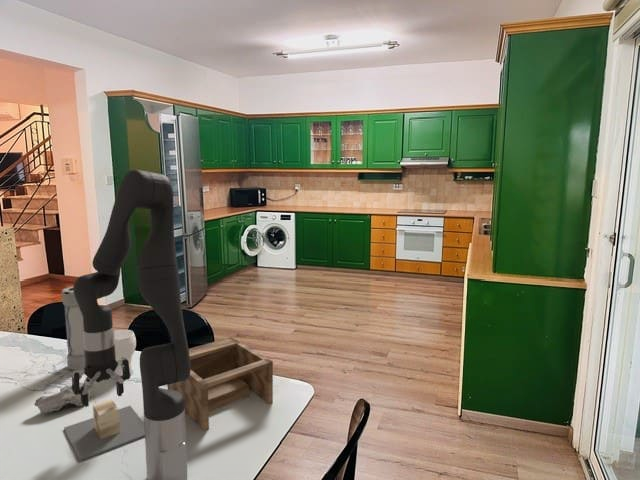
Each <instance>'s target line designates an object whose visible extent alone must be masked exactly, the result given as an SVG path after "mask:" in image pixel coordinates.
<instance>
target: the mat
mask: <svg viewBox="0 0 640 480" xmlns="http://www.w3.org/2000/svg"><path fill="white" fill-rule="evenodd" d="M119 418H120V432H119V433H117V434H114V435H111V436H108V437H106V438H103V439H101V438H100V437H99V435H98V433H97V431H96V430H95V428H94V417H92V418H91V417H90V418H89V419H85V420H83V421H79V422H77V423H74V424H71V425H67V426H65V427H64V428H63V430H64V432H65V434H66V436H67V438H68V440H69V442H70V445H71V446H72V448H73V451H74V453H75V455H76V457H77V459H78V461H79V463H80V462H83V461H86V460H88V459H91V458H93V457H96V456H99V455H102V454H104V453H107V452H109V451H112V450H115V449H117V448H120V447H122V446H125V445H127V444H129V443H132V442H135V441H137V440H140V439H143V438H145V427H144V420H142V419H141V417H140V416H139V414H137V412H136V411H135V410H134V408H133V407H132V406H131V405H128V406H127V405H126V406H124V407H120V408H119Z"/></svg>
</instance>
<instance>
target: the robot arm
mask: <svg viewBox="0 0 640 480" xmlns="http://www.w3.org/2000/svg"><path fill="white" fill-rule="evenodd" d="M173 190H174V189H173V185H172V182H171V180H170V178H169V177H168V176H167V175H164V174H162V173H158V172H157V173H156V172H151V171H147V170H146V171H145V170H142V169H141V170H140V169H131V170H128V172H126V173H125V175H123V178H122V179H121V182H120V183H119V187H118V190H117V192H116V197H115V200H114V203H113V207H112V211H111V213H110V216H109V221H108V223H107V228H106V231H105V234H104V236H103V238H102V240H101V243H100V244H99V247H98V249H97V251H96V252H95V254H94V257H93V258H92V267H93V268H94V271H96V272H92V273H88V274H84V275H80V276H78V277H77V278H76V280H75V281H74V284H73V286H74V287H73V292H74V296H75V298H76V301H77V303H78V306H79V308H80V311H81V313H82V316H83V327H84V337H83V342H84V343H83V346H84V356H85V368H84V370H80V371H77V370H71V371H72V372H71V385H72V391H73V392H74V394H75V395H77V394H80V395H81V403H82V404H83V405H82V406H84V407H85V408H88V407H89V405H90V404H89V402H90V401H89V402H88V393H87V392H88V390H89V389H90V390H91V388H92V387H93V386H94V384H95V383H100V382H102V381H107V380H110V378H112V377H113V378H112V379H115V381H116V382H115V384H116V395H117V396H118V397H122V396H123V394H124V391H125V390H124V389H125V387H124V382H125V381H127V380H130V379H131V375H130V370H129V362H128V360H127V359H126V358H125V357H123V358H122V359H121V360H118V361H116V353H115V337H114V331H115V330H114V327H113V326H114V325H113V324H114V323H113V312H112V309H111V307H110V306H109V305H108V306H107V305H100V304H99V303H98V299H102V298H105V297H108V296H111V295H113V293H114V292H115V291H116V290H117V288H118V287H119V282H120V276H121V269H122V266H123V265H124V264H125V262H126V260H127V257H128V256H129V254H130V251H131V248H132V235H131V231H130V219H131V217H132V216H133V214H134V212H135V210H136V209H140V210H141V209H142V210H149V212H150V231H149V235H148V237H147V239H146V241H145V243H144V244H143V247H142V249H141V251H140V253H139V256H138V259H137V262H136V263H137V264H136V271H137V273H136V274H137V281H138V290H139V293H140V294H141V296H142V298H143V299H144V300H145V302H146V303H147V304H148V305H149V307H151V309H153V310H154V312H155V313H156V314H157V315H158V316H159V318H160V319H161V320H162V323H164V325H165V326H166V328H167V330H168V333H169V335H170V341H171V342H169V343H164V344H158V345H153V346H148V347H144V348H143V349H142V350H141V352H140V355H139V371H140V378H141V379H140V380H141V388H142V403H143V405H142V406H143V423H144V427H145V437H144V443H145V465H146V466H145V467H146V479H147V480H188V458H187V457H188V456H187V455H188V454H187V453H188V451H187V428H186V425H187V424H186V412H185V399H184V396H183V395H182V394H181V393H180V392H178V391H175V390H169V389H168V388H162V387H163V386H167V385H168V384H172V383H176V382H180V381H184V380H186V379H188V377H189V376H190V370H191V365H190V355H189V349H190V348H189V345H188V339H187V334H186V328H185V322H184V316H183V308H182V299H181V298H182V297H181V283H180V273H179V265H178V259H177V252H176V242H175V227H174V225H175V223H174V221H175V219H174V217H175V216H174V213H175V212H174V191H173ZM118 365H120V366H121V367H122V371H123V375H122V376H119V375H118V374H117V373H115V372H114V371H115V370H116V368H117V366H118ZM84 375H85V376H86V378H85V379H84V381H83V382H82V383H83V385H82V386H81V388H79V383H80V380H81V379H82V377H83V376H84ZM111 376H112V377H111Z"/></svg>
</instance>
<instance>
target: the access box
mask: <svg viewBox="0 0 640 480" xmlns="http://www.w3.org/2000/svg"><path fill="white" fill-rule="evenodd" d="M188 349H189V355H190V365H191V370H190V376H189V377H188V379H186V380H184V381H180V382H176V383H172V384H168V385H166V386H167V389H169V390H175V391H178V392H180V393H181V394H182V395H183V396H184V399H185V414H186V415H187V416H189V417H190V419H191V420H192V421H194V423H195V424H196V425H198V427H200V428H201V430H202V431H203V432H204V431H207V430H209V429H210V422H209V421H210V420H209V419H210V418H209V417H210V412H212V411H215V410H218V409H220V408H222V407H225V406H228V405H230V404H232V403H233V404H234V403H235V402H239V401H241V400H243V399H246V398H248V396H250V392H251V393H253V394H254V395H255V396H257V397H259V398H260V399H261V400H262V401H264V402H266V404H272V403H273V402H274V401H273V400H274V388H273V387H274V383H273V382H274V380H273V379H274V378H273V377H274V371H273V370H274V369H273V368H274V363H273V360H271V359H269V358H268V357H266V356H264V355H262V354H261V353H259V352H258V351H256V350H255V349H253V348H252V347H251V348H250V347H249V346H247V345H246V344H244V343H242V342H241V341H239V340H237V339H235V338H234V337H232V336H230V337H227V338H223V339H219V340H216V341H212V342H208V343H205V344H201V345H198V346H194V347H191V348H188Z"/></svg>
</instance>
